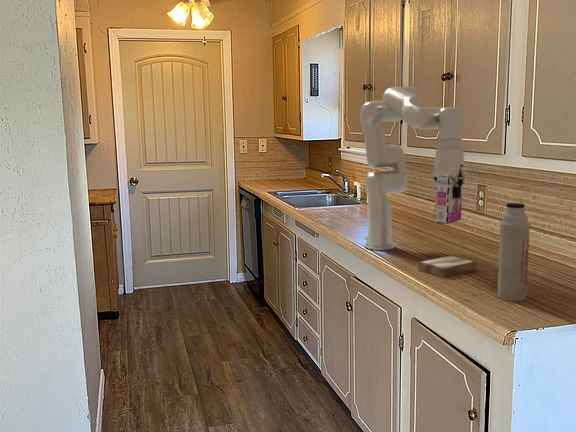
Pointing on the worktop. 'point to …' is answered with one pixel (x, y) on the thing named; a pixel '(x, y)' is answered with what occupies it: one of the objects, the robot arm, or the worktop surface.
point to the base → (447, 266)
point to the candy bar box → (446, 201)
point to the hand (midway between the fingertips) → (449, 196)
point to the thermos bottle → (513, 253)
